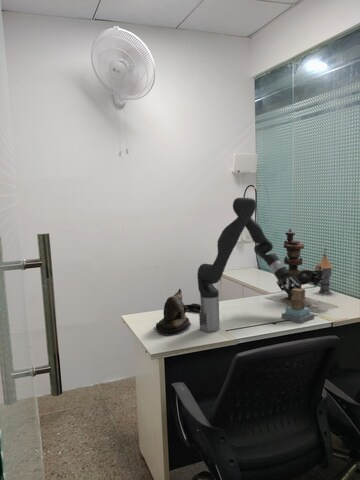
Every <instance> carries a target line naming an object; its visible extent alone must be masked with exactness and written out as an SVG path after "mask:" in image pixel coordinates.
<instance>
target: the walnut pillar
mask: <svg viewBox="0 0 360 480" xmlns="http://www.w3.org/2000/svg"><path fill="white" fill-rule="evenodd" d="M292 294H293V295H292V296H291V305H290V307H291V308H295V309H299V310H300V309H303V308H305V307H306V305H305V297H306V289H304V288H301V289H299V288H296V289H292Z"/></svg>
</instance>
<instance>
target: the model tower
mask: <svg viewBox="0 0 360 480" xmlns="http://www.w3.org/2000/svg"><path fill="white" fill-rule="evenodd" d="M327 251H328V249H327V248H324V252H327ZM322 255H323V256H322V258H321V260H320V261H319V263H317V264H316V267H315V268H314V269H316V270H318V269H319V266H321V269H322V270H323V276H322V277H324V279H323V280H320V283H319V284H318V285H320V286H319V287H320V290H319V293H322V294H324V295H325V294H332V291H331V290H330V285H331V283H330V278H331V276H332V269H333V268H334V267H333V265H332V264H331V262H330V261H329V259H328V257H327V255H326V253H324V254H322Z"/></svg>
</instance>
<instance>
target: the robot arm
mask: <svg viewBox="0 0 360 480" xmlns="http://www.w3.org/2000/svg"><path fill="white" fill-rule="evenodd" d="M256 207H257V202H256V200H255V199H254V198H252V197H236V198H235V199H234V200H233V203H232V209H233V212H234V213H235V215H236V216H237V217H236V218H235V219H234V220H233V221H232V222H230V223H229V224H228V225H227V226H225V228H223V230H222V231H221V233H220V235H219V237H218V238H217V245H216V246H217V247H216V248H217V254H216V257H215V260H214V261H213V263H212V264H210V263H202V264H200V266H199V267H198V269H197V284H198V285H197V286H198V291H199V294H200V297H199V298H200V305H201V311H199V310H198V314H199V315H198V316H199V330H201V331H204V332H206V333H213V332H218V331H220V327H221V326H220V300H219V299H220V297H219V296H220V295H219V294H220V293H219V289H217V287H215V285H214V284H217V283H219V281H220V280H221V278H222V276H223V274H224V272H225V268H226V266H227V264H228V261H229V259H230V257H231V255H232V253H233V251H234V248H235V247H236V245H237V243H238V241H239V238H240V236H241V235H242V233H243V231H244V229H245V228H246V230H247V231H248V233H249V236H250V237H251V238H252V239H251V240H252V241H253V243H255V244H256V245H255V246H254V247H253V250H254V253H255V254H256V255H258V256H259V258H261V259H262V260H263V261H265V263H266V264H267V266H268V267H269V269H270V271H271V272H272V274H273V275H274V276H275V279H277V281H276V284H277V286H278V288H279V289H280V291H281V292H283V291H284V292H285V293H287V294H288V295H289V296H290V297H291V296H292V295H293V294H292V292H291V291H290V289H288V286H292V287H295V288H299V289H302V287H301V288H300V285H301V283H300V282H299V280H298V279H297V278H296V277H295V276H293V277H291V276H290V272H289V271H288V268H287V267H286V266H285V263H284V262H282V261H281V259H280V258H279V257H278V256H277V254H276V253H275V252H273V253H270V252H271V251H272V250H273V247H274V245H273V243H272V242H271V241H270V240H269V239H268V238H267V237H266V235H265V234H264V231H263V229H262V227H261V225H259V224H258V222H256V221H255V219H253V218H252V216H254V213H255V211H256ZM293 282H294V283H293ZM297 282H298V283H297Z"/></svg>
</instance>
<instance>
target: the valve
mask: <svg viewBox="0 0 360 480" xmlns="http://www.w3.org/2000/svg"><path fill="white" fill-rule="evenodd" d="M285 235H286V240H283V241H284V243H283V248H284V249H286V250H285V251H286V255H287V256H285V257H284V258H283V264H284V265H288V268H287V270H288V271H289V272H290V276H291V277H293V276H295V277H296V278H297V279H298V280H299V282H300V283H301V285H300V288H301V289H302V287H303V286H302V285H307V284H309V283H311V284H313V285H314V286H318V285H320V284H319V283H320V280H323V279H324V277H322V276H323V270H322V269H321V266H319V269H317V270H316V269H315V268H314V269H306V268H303V269H300V270H299V269H298V268H299V266H302V265H303V261H304V260H303V258H302V257H301V250H304V249H305V245H304V243H301V242H300V240H298V239H295V238H294V236H295V235H296V232H295V231H293V229H291V228H288V231H285ZM293 283H294V282H293ZM297 283H298V282H297ZM288 289H290V291H291V292H292V289H296V288H295V287H292V286H288ZM265 299H267V300H271V301H275V302H278V303H280V304H286V305H288V306H291V297H290V296H289V295H288V294H287V293H286V292H284V293H279V294H275V295H271V296H267V297H265ZM305 307H307V308H310V312H314V313H316V314H321V313H324V312H328V311H329V310H335V309H339V308H340V306H339V305H337V304H334V303H329V302H325V301H322V300H317V299H314V298H311V297H308V296H305Z"/></svg>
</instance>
